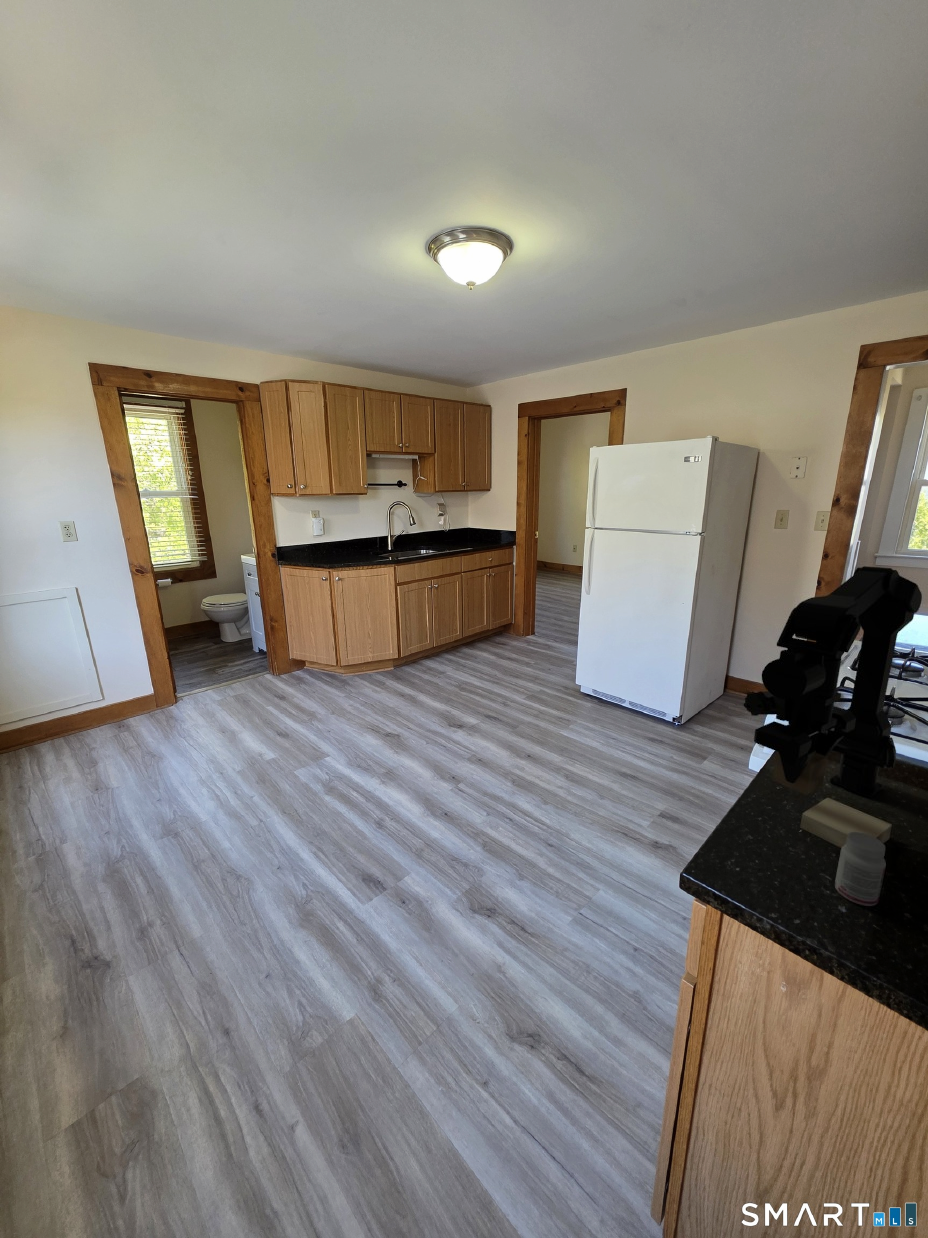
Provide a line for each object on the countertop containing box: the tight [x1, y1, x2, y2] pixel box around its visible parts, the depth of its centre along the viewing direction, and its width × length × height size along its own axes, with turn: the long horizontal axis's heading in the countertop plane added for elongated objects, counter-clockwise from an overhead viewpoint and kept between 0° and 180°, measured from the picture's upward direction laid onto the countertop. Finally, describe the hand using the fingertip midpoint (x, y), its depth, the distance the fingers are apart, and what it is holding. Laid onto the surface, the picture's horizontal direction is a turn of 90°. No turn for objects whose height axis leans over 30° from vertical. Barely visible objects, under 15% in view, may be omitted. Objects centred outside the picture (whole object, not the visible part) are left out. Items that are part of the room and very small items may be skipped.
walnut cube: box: [771, 751, 828, 796], centre depth 76 cm, size 5×5×5 cm
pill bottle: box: [834, 832, 887, 907], centre depth 66 cm, size 5×5×8 cm
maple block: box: [799, 797, 893, 849], centre depth 79 cm, size 9×9×3 cm
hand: (798, 777), depth 76 cm, fingers closed on walnut cube, 5 cm apart
